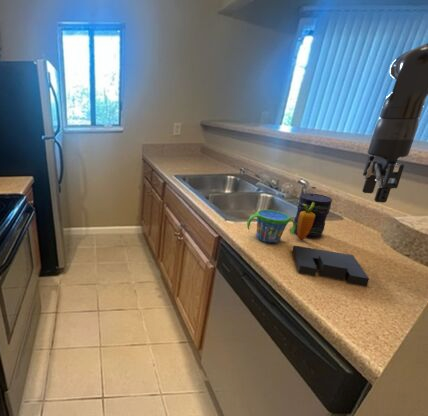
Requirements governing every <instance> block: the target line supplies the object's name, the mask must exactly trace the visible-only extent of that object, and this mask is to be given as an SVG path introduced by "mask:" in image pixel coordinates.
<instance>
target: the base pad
mask: <svg viewBox="0 0 428 416" xmlns="http://www.w3.org/2000/svg"><path fill="white" fill-rule="evenodd" d="M292 246H293V247H292V251H291V252H292V256H293V260H294V263H295V265H296V268H297V272H298V274H304V275H308V276H313V277H315V276H316V275H317V272H318V269H317V267H316V266H317V262H318V259H319V256H324V257H330V258H336V259H342V260H343V262H344V264H345V265H346V267H347V269H348V270H347V273H346V276H345V278H344V280H345V281H346V282H347V283H349V284H354V285H359V286H364V287H367V286H368V284H369V281H370V278H369V277H368V274H367V273H366V272H365V270H364V269H363V268H362V266H361V265H360V263H359V262H358V260H357V258H355V256H354V255H353V254H348V253H343V252H336V251H332V250H331V251H330V250H325V249H320V248H319V249H317V248H313V247H307V246H301V245H292Z"/></svg>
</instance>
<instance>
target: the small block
mask: <svg viewBox="0 0 428 416" xmlns="http://www.w3.org/2000/svg"><path fill="white" fill-rule="evenodd" d="M316 267H317V272H318V274H319V276H320V277H324V278H328V279H332V280H333V279H334V280H339V281H345V276H346V273H347V270H348V269H347V267H346V265H345V264H344V262H343V260H342V259H336V258H330V257H324V256H319V259H318V262H317V265H316Z"/></svg>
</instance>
